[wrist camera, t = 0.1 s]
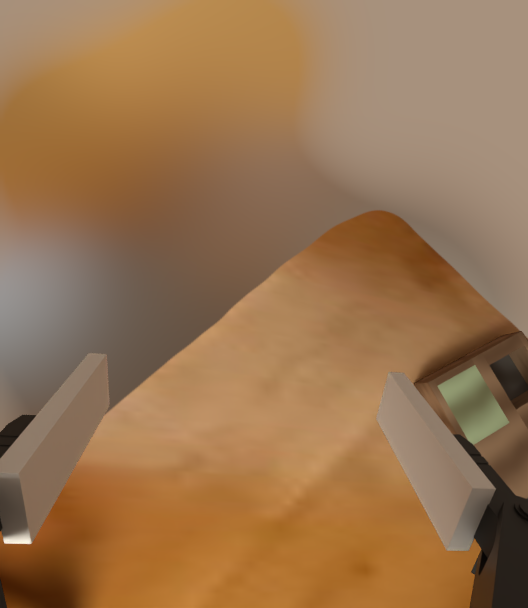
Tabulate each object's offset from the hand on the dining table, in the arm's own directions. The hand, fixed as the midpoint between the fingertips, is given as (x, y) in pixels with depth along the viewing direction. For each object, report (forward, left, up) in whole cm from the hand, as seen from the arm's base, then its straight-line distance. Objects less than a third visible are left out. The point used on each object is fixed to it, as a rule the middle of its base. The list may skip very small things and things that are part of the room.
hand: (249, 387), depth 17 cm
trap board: (-24, -35, -36) cm, 56 cm away
